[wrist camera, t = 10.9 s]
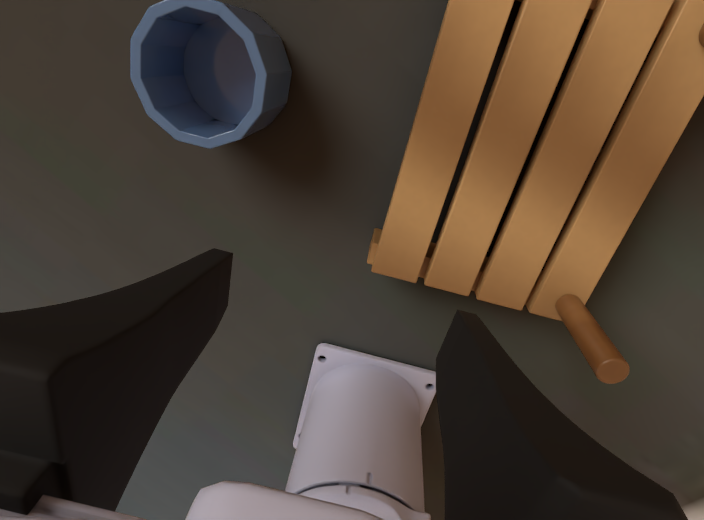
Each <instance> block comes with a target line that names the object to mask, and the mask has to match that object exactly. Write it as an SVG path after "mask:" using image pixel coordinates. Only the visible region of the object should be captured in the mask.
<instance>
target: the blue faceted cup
mask: <svg viewBox="0 0 704 520" xmlns="http://www.w3.org/2000/svg"><path fill="white" fill-rule="evenodd" d="M291 75H292V70H291V67H290V64H289V61H288V58H287V54H286V51H285V48H284V45H283V42H282V39H281V37H280V36H279V35H278V34H277V33H276V32H275V31H274V30H273V29H272V28H271V27H270V26H269V25H268V24H267V23H266V22H265V21H264V20H263V19H262V18H261V17H260V16H259V15H258V14H256V13H254V12H251V11H248V10H245V9H241V8H238V7H235V6H232V5H229V4H225V3H222V2H219V1H215V0H164V1H161V2H159V3H156V4H154V5H151V6H150V7H149V8H148V10H147V11H146V13H145V15H144V17H143V18H142V20H141V22H140V23H139V25H138V27H137V28H136V30H135V32H134V34H133V35H132V37H131V75H130V77H131V81H132V83H133V85H134V87H135V89H136V91H137V93H138V96H139V98H140V100H141V102H142V104H143V106H144V109H145V111H146V113H147V115H148V116H149V117H150V118H151V119H153V120H154V121H155V122H156V123H157V124H158V125H159V126H161V127H162V128H163V129H164V130H165V131H166V132H167V133H169V134H170V135H171V136H172V137H173V138H174V139H175V140H177V141H181V142H185V143H189V144H192V145H196V146H200V147H204V148H208V149H212V148H215V147H219V146H222V145H225V144H228V143H231V142H235V141H238V140H241V139H243V138H245V137H247V136H249V135H251V134H253V133H255V132H257V131H259V130H261V129H263V128H265V127H267V126H268V125H270V124H271V122H272V121H273V120H274V119H275V117H276V116H277V115H278V114H279V113H280V111H281V110H282V109H283V108H284V106H285V105H286V104H287V100H288V94H289V87H290V81H291Z"/></svg>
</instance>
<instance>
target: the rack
mask: <svg viewBox="0 0 704 520" xmlns="http://www.w3.org/2000/svg"><path fill="white" fill-rule="evenodd" d="M517 1H520V2H522V3H521V5H520V8H519V11H518V14H517V17H516V19H515V22H514V25H513V28H512V31H511V34H510V36H509V39H508V42H507V45H506V48H505V50H504V53H503V56H502V59H501V62H500V65H499V67H498V70H497V73H496V76H495V79H494V81H493V84H492V87H491V90H490V93H489V96H488V98H487V101H486V104H485V107H484V110H483V112H482V115H481V118H480V121H479V124H478V127H477V129H476V132H475V135H474V138H473V141H472V143H471V146H470V149H469V152H468V155H467V158H466V160H465V163H464V166H463V169H462V172H461V174H460V177H459V180H458V183H457V186H456V189H455V191H454V194H453V197H452V200H451V203H450V205H449V208H448V211H447V214H446V217H445V220H444V222H443V225H442V228H441V231H440V234H439V236H438V239H437V242H436V243H432V242H431V239H432V236H433V233H434V230H435V227H436V225H437V222H438V219H439V216H440V213H441V210H442V207H443V204H444V202H445V199H446V196H447V193H448V190H449V187H450V184H451V181H452V179H453V176H454V173H455V170H456V167H457V164H458V161H459V158H460V156H461V153H462V150H463V147H464V144H465V141H466V138H467V135H468V133H469V130H470V127H471V124H472V121H473V118H474V115H475V112H476V110H477V107H478V104H479V101H480V98H481V95H482V92H483V89H484V87H485V84H486V81H487V78H488V75H489V72H490V69H491V66H492V64H493V61H494V58H495V55H496V52H497V49H498V46H499V43H500V41H501V38H502V35H503V32H504V29H505V26H506V23H507V20H508V18H509V15H510V12H511V9H512V6H513V3H514V0H449V1H448V4H447V7H446V11H445V14H444V18H443V21H442V25H441V28H440V32H439V35H438V39H437V42H436V46H435V49H434V53H433V56H432V60H431V63H430V66H429V70H428V73H427V77H426V80H425V84H424V87H423V91H422V94H421V98H420V101H419V105H418V108H417V112H416V115H415V118H414V122H413V125H412V129H411V132H410V136H409V139H408V143H407V146H406V150H405V153H404V157H403V160H402V164H401V167H400V171H399V174H398V177H397V181H396V184H395V188H394V191H393V195H392V198H391V202H390V205H389V209H388V212H387V216H386V219H385V223H384V226H383V230H382V229H378V228H375V229H374V232H373V236H372V240H371V243H370V247H369V253H368V259H367V263H368V264H372V272H374V273H378V274H382V275H386V276H390V277H394V278H397V279H401V280H405V281H409V282H413V283H416V282H417V279H418V277H422V278H424V284H425V285H426V286H429V287H433V288H437V289H441V290H445V291H449V292H452V293H456V294H460V295H464V296H469V294H470V292H471V290H472V291H475V294H476V298H477V299H478V300H482V301H486V302H489V303H493V304H497V305H501V306H505V307H509V308H512V309H516V310H520V311H521V310H522V308H523V306H524V304H526V306H527V308H528V310H529V312H530V313H532V314H536V315H540V316H543V317H547V318H551V319H555V320H559V321H563V323H564V324H565V326H566V328H567V329H568V331H569V332H570V334H571V336H572V337H573V339H574V341H575V342H576V344H577V346H578V347H579V349H580V350H581V352H582V354H583V355H584V357H585V359H586V360H587V362H588V364H589V365H590V367H591V368H592V370H593V372H594V373H595V375H596V377H597V378H598V379H599V380H600V381H602V382H604V383H608V384H614V383H618V382H621V381H622V380H624V379H625V378H626V377H627V376H628V374H629V371H630V368H629V365H628V363H627V362H626V360H625V359H624V358H623V356H622V355H621V354H620V352H619V351H618V350H617V348H616V347H615V345H614V344H613V343H612V341H611V340H610V339H609V337H608V336H607V335H606V333H605V332H604V331H603V329H602V328H601V327H600V325H599V324H598V322H597V321H596V320H595V318H594V317H593V316H592V314H591V313H590V312H589V310H588V309H587V308H586V306H585V304H586V302H587V300H588V299H589V297H590V295H591V293H592V292H593V290H594V288H595V286H596V284H597V283H598V281H599V279H600V277H601V276H602V274H603V272H604V270H605V269H606V267H607V265H608V263H609V262H610V260H611V258H612V256H613V255H614V253H615V251H616V249H617V247H618V246H619V244H620V242H621V240H622V239H623V237H624V235H625V233H626V232H627V230H628V228H629V226H630V225H631V223H632V221H633V219H634V217H635V216H636V214H637V212H638V210H639V209H640V207H641V205H642V203H643V202H644V200H645V198H646V196H647V195H648V193H649V191H650V189H651V188H652V186H653V184H654V182H655V180H656V179H657V177H658V175H659V173H660V172H661V170H662V168H663V166H664V165H665V163H666V161H667V159H668V158H669V156H670V154H671V152H672V150H673V149H674V147H675V145H676V143H677V142H678V140H679V138H680V136H681V135H682V133H683V131H684V129H685V128H686V126H687V124H688V122H689V121H690V119H691V117H692V115H693V113H694V112H695V110H696V108H697V106H698V105H699V103H700V101H701V99H702V98H703V96H704V0H517ZM584 19H589V22H588V25H587V27H586V29H585V32H584V34H583V36H582V39H581V41H580V44H579V46H578V48H577V51H576V53H575V55H574V58H573V60H572V62H571V65H570V67H569V70H568V72H567V74H566V77H565V79H564V81H563V84H562V86H561V88H560V91H559V93H558V96H557V98H556V100H555V103H554V105H553V107H552V110H551V112H550V115H549V117H548V119H547V122H546V124H545V126H544V129H543V131H542V133H541V136H540V138H539V141H538V143H537V145H536V148H535V150H534V152H533V155H532V157H531V159H530V162H529V164H528V167H527V169H526V171H525V174H524V176H523V178H522V181H521V183H520V185H519V188H518V190H517V193H516V195H515V197H514V200H513V202H512V204H511V207H510V209H509V211H508V214H507V216H506V219H505V221H504V223H503V226H502V228H501V230H500V233H499V235H498V237H497V240H496V242H495V245H494V247H493V249H492V252H491V254H490V256H489V257H485V256H486V254H487V251H488V249H489V247H490V244H491V242H492V239H493V237H494V235H495V232H496V230H497V227H498V225H499V223H500V220H501V218H502V215H503V213H504V211H505V208H506V206H507V203H508V201H509V199H510V196H511V194H512V191H513V189H514V187H515V184H516V182H517V180H518V177H519V175H520V172H521V170H522V168H523V165H524V163H525V160H526V158H527V156H528V153H529V151H530V148H531V146H532V144H533V141H534V139H535V136H536V134H537V132H538V129H539V127H540V125H541V122H542V120H543V117H544V115H545V113H546V110H547V108H548V105H549V103H550V101H551V98H552V96H553V93H554V91H555V89H556V86H557V84H558V81H559V79H560V77H561V74H562V72H563V70H564V67H565V65H566V62H567V60H568V58H569V55H570V53H571V50H572V48H573V46H574V43H575V41H576V38H577V36H578V34H579V31H580V29H581V26H582V24H583V22H584ZM656 37H657V40H656V42H655V44H654V46H653V48H652V50H651V52H650V54H649V56H648V58H647V60H646V62H645V64H644V66H643V68H642V70H641V72H640V74H639V76H638V78H637V80H636V83H635V85H634V87H633V89H632V91H631V93H630V95H629V97H628V99H627V101H626V103H625V105H624V107H623V109H622V111H621V113H620V115H619V117H618V119H617V121H616V123H615V125H614V127H613V129H612V131H611V133H610V135H609V137H608V139H607V141H606V143H605V145H604V147H603V149H602V151H601V153H600V155H599V157H598V160H597V162H596V164H595V166H594V168H593V170H592V172H591V174H590V176H589V178H588V180H587V182H586V184H585V186H584V188H583V190H582V192H581V194H580V196H579V198H578V200H577V202H576V204H575V206H574V208H573V210H572V212H571V214H570V216H569V218H568V220H567V222H566V224H565V226H564V228H563V230H562V232H561V234H560V237H559V239H558V241H557V243H556V245H555V247H554V249H553V251H552V253H551V255H550V257H549V259H548V261H547V263H546V265H545V267H544V269H543V271H541V270H542V268H543V266H544V264H545V262H546V260H547V258H548V255H549V253H550V251H551V249H552V247H553V245H554V243H555V241H556V239H557V237H558V235H559V233H560V231H561V229H562V227H563V225H564V223H565V221H566V219H567V217H568V215H569V213H570V211H571V209H572V207H573V205H574V203H575V201H576V199H577V196H578V194H579V192H580V190H581V188H582V186H583V184H584V182H585V180H586V178H587V176H588V174H589V172H590V170H591V168H592V166H593V164H594V162H595V160H596V158H597V156H598V154H599V152H600V150H601V148H602V146H603V144H604V142H605V140H606V138H607V135H608V133H609V131H610V129H611V127H612V125H613V123H614V121H615V119H616V117H617V115H618V113H619V111H620V109H621V107H622V105H623V103H624V101H625V99H626V97H627V95H628V93H629V91H630V89H631V87H632V85H633V83H634V81H635V79H636V76H637V74H638V72H639V70H640V68H641V66H642V64H643V62H644V60H645V58H646V56H647V54H648V52H649V50H650V48H651V46H652V44H653V42H654V40H655V38H656Z"/></svg>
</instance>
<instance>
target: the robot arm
mask: <svg viewBox="0 0 704 520" xmlns="http://www.w3.org/2000/svg"><path fill="white" fill-rule="evenodd" d="M232 258H233V253H230V252H226V251H222V250H218V249H211V250H209V251H207V252H204V253H202V254H200V255H198V256H196V257H194V258H192V259H190V260H188V261H186V262H184V263H181V264H179V265H177V266H175V267H173V268H171V269H168V270H166V271H164V272H162V273H159V274H157V275H154V276H152V277H149V278H147V279H144V280H142V281H139V282H137V283H134V284H132V285H129V286H126V287H123V288H120V289H117V290H113V291H110V292H107V293H103V294H100V295H96V296H92V297H88V298H84V299H79V300H75V301H71V302H67V303H62V304H57V305H52V306H46V307H40V308H34V309H27V310H21V311H13V312H5V313H0V520H147V519H143V518H139V517H135V516H130V515H126V514H122V513H118V512H115V510H116V508H117V505H118V503H119V501H120V499H121V497H122V494H123V492H124V490H125V488H126V486H127V484H128V482H129V480H130V478H131V476H132V474H133V472H134V469H135V467H136V465H137V463H138V461H139V459H140V457H141V455H142V453H143V451H144V449H145V447H146V445H147V443H148V441H149V439H150V437H151V435H152V433H153V431H154V429H155V427H156V425H157V424H158V422H159V420H160V418H161V416H162V414H163V412H164V410H165V408H166V407H167V405H168V403H169V401H170V399H171V397H172V396H173V394H174V392H175V391H176V389H177V388H178V386H179V384H180V383H181V381H182V380H183V379H184V377H185V376H186V374H187V373H188V371H189V370H190V368H191V367H192V365H193V364H194V362H195V361H196V359H197V358H198V356H199V355H200V353H201V352H202V350H203V349H204V348H205V346H206V345H207V343H208V342H209V340H210V339H211V337H212V335H213V334H214V332H215V331H216V329H217V327H218V325H219V323H220V321H221V319H222V317H223V314H224V312H225V310H226V308H227V306H228V297H229V287H230V277H231V267H232ZM320 356H324V357H325V358H320ZM427 384H432V386H428V385H427ZM435 393H436V394H437V403H438V411H439V419H440V427H441V436H442V444H443V452H444V465H445V520H688V519H687V517H686V515H685V514H684V512H683V510H682V508H681V507H680V505H679V503H678V501H677V500H676V498H675V496H674V495H673V493H671V492H669V491H668V490H666V489H665V488H663V487H662V486H660V485H658V484H657V483H655V482H654V481H652V480H651V479H649V478H648V477H646V476H644V475H643V474H641V473H640V472H638V471H637V470H635V469H634V468H632V467H631V466H629V465H628V464H626V463H625V462H623V461H622V460H621V459H619V458H618V457H616V456H615V455H614V454H612V453H611V452H610V451H608V450H607V449H605V448H604V447H603V446H601V445H600V444H599V443H598V442H596V441H595V440H594V439H592V438H591V437H590V436H589V435H587V434H586V433H585V432H584V431H583V430H581V429H580V428H579V427H578V426H577V425H575V424H574V423H573V422H572V421H571V420H569V419H568V418H567V417H566V416H565V415H564V414H563V413H562V412H560V411H559V410H558V409H557V408H556V407H555V406H554V405H553V404H552V403H551V402H550V401H549V400H548V399H547V398H546V397H545V396H544V395H543V394H542V393H541V392H540V391H539V390H538V389H537V388H536V387H535V386H534V385H533V384H532V383H531V381H530V380H529V379H528V378H527V377H526V376H525V375H524V374H523V372H522V371H521V370H520V369H519V368H518V367H517V365H516V364H515V363H514V362H513V361H512V359H511V358H510V357H509V356H508V354H507V353H506V352H505V351H504V349H503V348H502V347H501V346H500V344H499V343H498V342H497V340H496V339H495V338H494V336H493V335H492V334H491V332H490V331H489V330H488V329H487V327H486V326H485V325H484V323H483V322H482V321H481V320H480V318H479V317H478V316H477V315H476V314H472V313H468V312H464V311H460V310H457V312H456V314H455V316H454V319H453V321H452V323H451V326H450V328H449V330H448V332H447V335H446V337H445V339H444V342H443V344H442V346H441V349H440V351H439V353H438V355H437V358H436V372H435V371H431V370H427V369H423V368H420V367H416V366H412V365H408V364H404V363H400V362H397V361H393V360H389V359H385V358H381V357H377V356H373V355H370V354H366V353H362V352H358V351H354V350H350V349H346V348H343V347H339V346H335V345H331V344H327V343H321V344H319V345H318V346H317V348H316V352H315V356H314V360H313V364H312V368H311V372H310V376H309V381H308V385H307V389H306V393H305V397H304V401H303V405H302V409H301V413H300V417H299V421H298V425H297V429H296V433H295V437H294V441H293V446H294V448H296V453H295V456H294V460H293V464H292V467H291V471H290V475H289V478H288V482H287V486H286V489H285V491H282V490H278V489H274V488H270V487H266V486H262V485H257V484H253V483H249V482H237V481H222V482H220V483H217V484H214V485H211V486H208V487H205V488H202V489H200V491H199V493H198V495H197V496H196V498H195V500H194V501H193V503H192V505H191V508H190V510H189V512H188V514H187V517H186V519H185V520H431V515H430V514H429V513H425V508H424V488H423V467H422V447H421V426H422V424H423V421H424V419H425V417H426V414H427V412H428V410H429V407H430V405H431V403H432V400H433V398H434V396H435Z"/></svg>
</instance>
